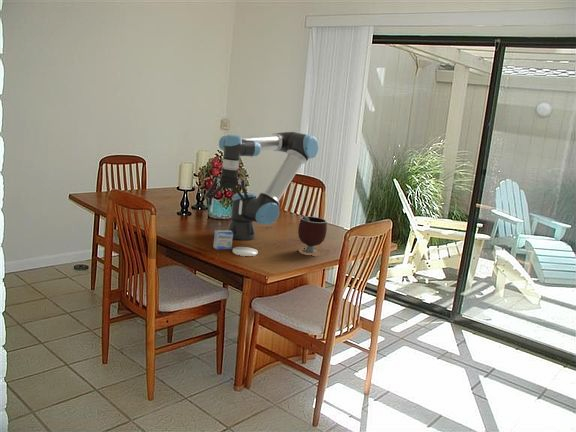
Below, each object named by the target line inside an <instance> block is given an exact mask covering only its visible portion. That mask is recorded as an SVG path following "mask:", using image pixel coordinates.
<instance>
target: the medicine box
mask: <svg viewBox="0 0 576 432" xmlns="http://www.w3.org/2000/svg"><path fill="white" fill-rule="evenodd" d="M233 239H234V238H233V232H232V231H231V230H227V229H217V230H214V236H213V246H212V247H213V248H214V249H215V250H216V251H218V250H219V251H221V250H223V251H224V250H232V249H233V248H232V247H233Z"/></svg>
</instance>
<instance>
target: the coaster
mask: <svg viewBox="0 0 576 432" xmlns="http://www.w3.org/2000/svg"><path fill="white" fill-rule="evenodd" d="M232 254H234V255H236V256H239V255H240V256H239V257H245V256H253V257H256V255H257V254H259V251H258V250H257V249H255V248H253V247H248V246H235V247H233V248H232ZM257 256H258V255H257Z"/></svg>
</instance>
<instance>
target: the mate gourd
mask: <svg viewBox="0 0 576 432" xmlns="http://www.w3.org/2000/svg"><path fill="white" fill-rule="evenodd" d="M327 223H328V221H327V220H326V219H324V218H322V217H319V216H318V217H316V216H306V215H305V214H301V217H300V220H299V223H298V229H297V230H298V238H299V240H300V242H301V243H303V244H305V245H306V247H304V248H305V249H302V251H303V252H306V253H317V251H316V250H317V249H316V250H314V249H315V248H314V247H315V246H319V245H321V244H322V243H323V242H325V239H326V234H327V229H328V226H327V225H328V224H327Z"/></svg>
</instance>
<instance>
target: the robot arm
mask: <svg viewBox="0 0 576 432" xmlns="http://www.w3.org/2000/svg"><path fill="white" fill-rule="evenodd" d="M218 146H219V148H220V150H221V151H223V158H222V159H223V160H222V165H221V166H222V169H221V176H220V178H218V177H216V176H214V178H213V182H212V184H211V185H210V186H209V188H208V190H207V191H206V192H205V196H206V198H208V205H209V206H210V207H209V209H210V210H209V211H210V213H211V214H212V213H213V211H214V200H215V199H214V197H215V196H216V195H217V194H218V193H219V192H220V191H221V190H222V189H223V188H224V189H229V190H230V189H231V190H232V189H234V191H235V192H236V193H235V194H234V195H233V198H232V204H231V205H232V206H231V218H230V222H229V224H228V227H227V229H226V230H231V231H232V232H233V239H234V240H242V241H248V240H254V239H255V237H256V230H255V226H254V222H255V223H257V224H259V225H265V226H270V225H272V224H274V223H275V222H276V221H277V220H278V218H279V216H280V200H281V199H282V197H283V195H284V193H286V190H287V188H289V185H290V184H291V182H292V181H293V179H294V177H295V176H296V174H297V173H298V171H299V169H300V168H301V166H302V165H304V164H305V165H306V164H307V162H308V160H309V159H314V158H315V157H316V156H317V154H318V152H319V141H318V139H317V138H316V137H315V136H314V135H310V134H308V133H307V134H306V133H300V132H296V131H285V132H284V131H283V132H274V133H272V134H269V135H267V134H266V135H242V136H240V135H237V134H236V135H235V134H234V135H233V134H227V135H223V136H221V137H220V139H219V141H218ZM261 151H273V152H282V153H286V154H287V156H286V158H285V159H284V161H283V163H282V164H281V165H280V167H279V168H278V170H277V172H276V174H275V175H274V177H273V179H272V180H271V182H270V183H269V185H268V186H267V187H266V189H265V191H264V192H260V193H259V195H258V196H257V194H256V193H251V192H247V190H246V186H245V182H244V180H243V179H238V177H239V176H238V175H239V170H238V169H239V167H240V165H239V164H240V158H241V157H250V158H252V157H257V156H259V155H260V154H261ZM219 182H220V185H218V187H217V188H216V189H214V188H215V187H216V186H217V184H218V183H219ZM238 184H239V185H240V187H241V191H242V192H240V190H239V189H238V187H237V185H238Z"/></svg>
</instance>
